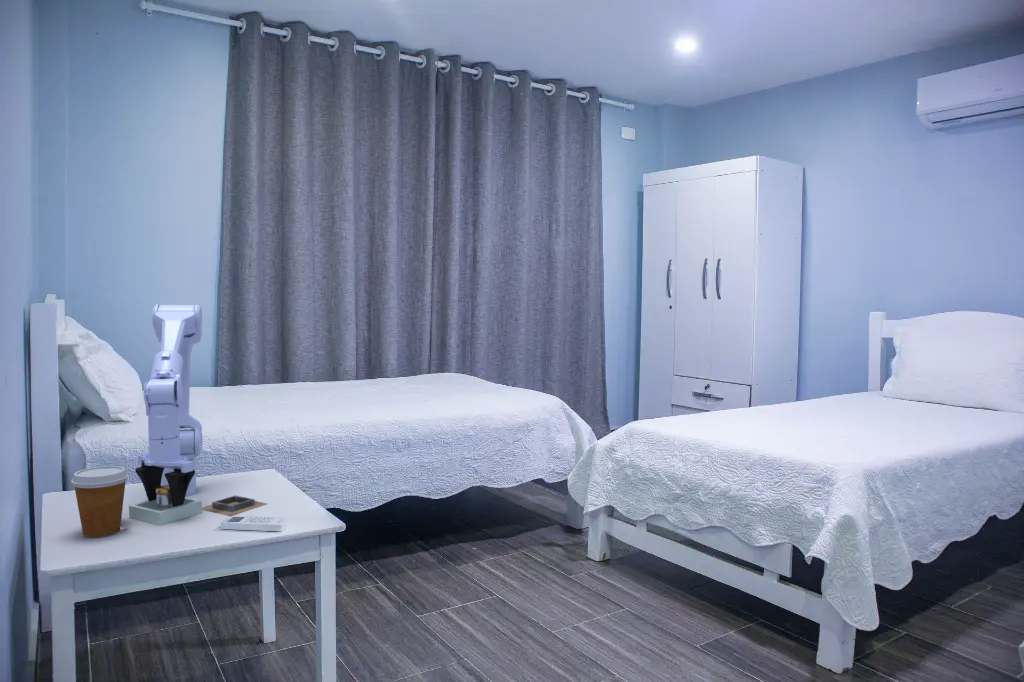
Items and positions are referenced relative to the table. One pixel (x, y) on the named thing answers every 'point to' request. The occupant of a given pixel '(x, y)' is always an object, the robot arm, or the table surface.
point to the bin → (164, 511)
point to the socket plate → (233, 505)
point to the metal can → (163, 498)
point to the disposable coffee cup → (100, 499)
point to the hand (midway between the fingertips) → (165, 502)
